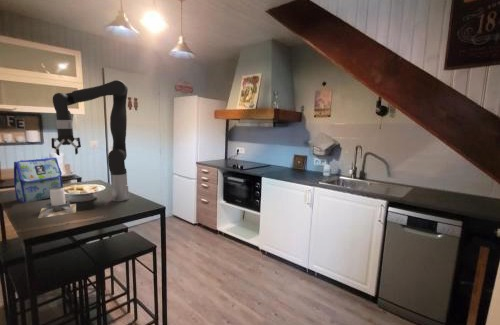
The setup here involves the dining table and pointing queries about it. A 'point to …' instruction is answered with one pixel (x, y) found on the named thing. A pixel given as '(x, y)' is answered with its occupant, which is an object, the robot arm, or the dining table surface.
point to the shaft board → (57, 211)
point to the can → (57, 196)
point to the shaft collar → (57, 208)
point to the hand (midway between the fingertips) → (67, 154)
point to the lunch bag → (36, 179)
